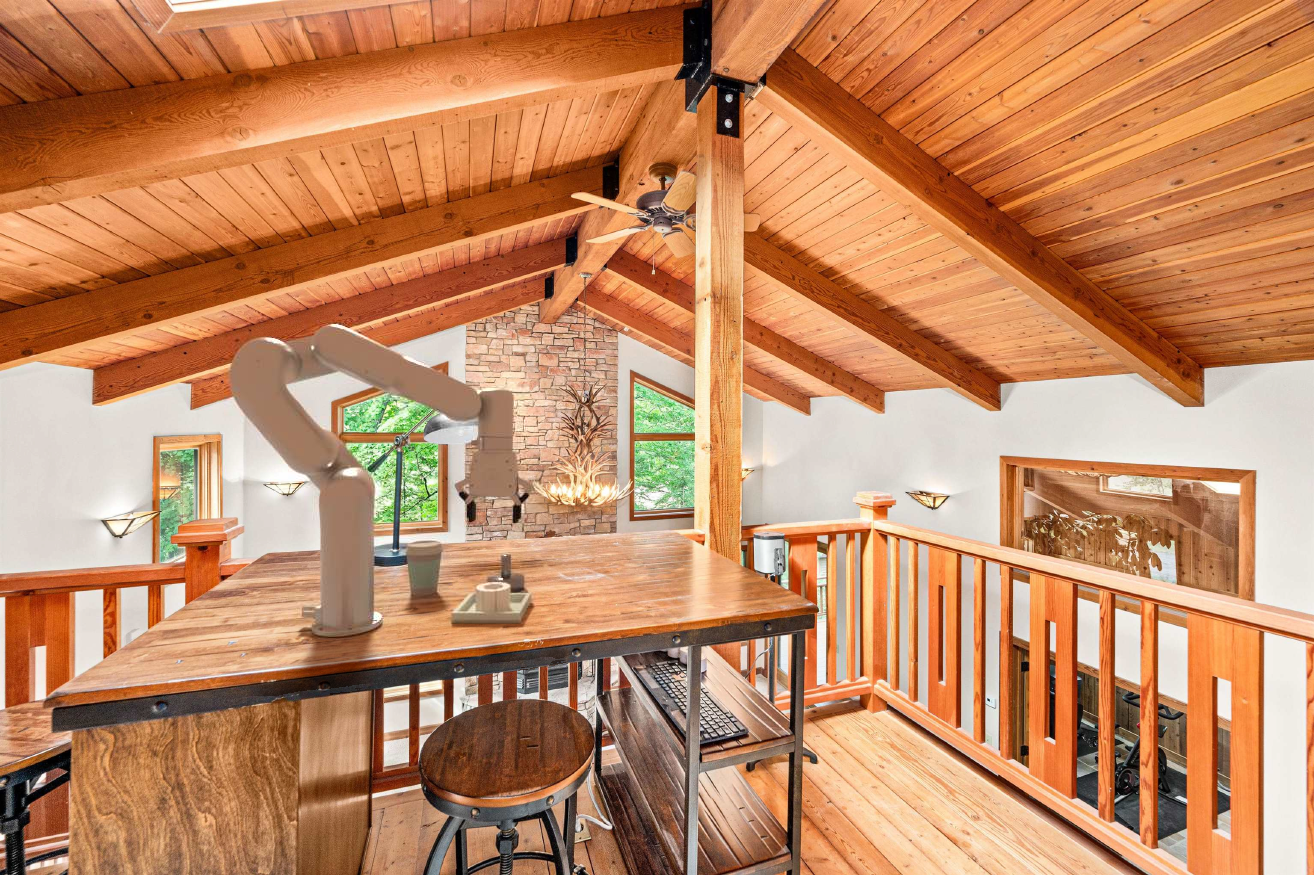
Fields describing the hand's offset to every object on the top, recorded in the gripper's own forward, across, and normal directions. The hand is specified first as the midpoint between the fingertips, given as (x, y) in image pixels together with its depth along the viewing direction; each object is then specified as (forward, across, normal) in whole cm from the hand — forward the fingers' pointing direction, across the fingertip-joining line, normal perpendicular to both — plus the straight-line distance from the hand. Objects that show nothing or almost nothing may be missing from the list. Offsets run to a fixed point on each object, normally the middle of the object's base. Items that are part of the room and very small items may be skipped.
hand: (493, 521), depth 128 cm
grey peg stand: (+20, -1, +15) cm, 25 cm away
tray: (+20, +1, -2) cm, 20 cm away
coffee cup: (+20, -20, +12) cm, 30 cm away
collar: (+19, +1, -2) cm, 19 cm away
